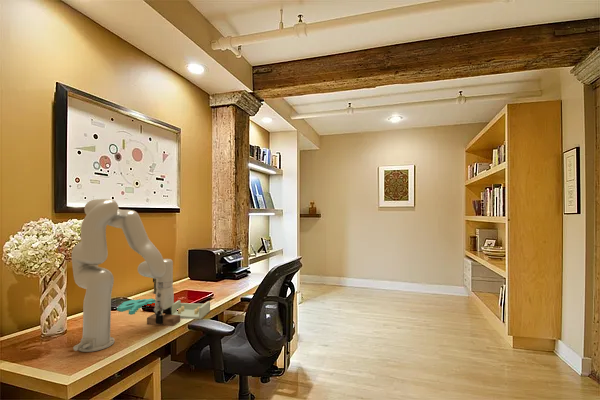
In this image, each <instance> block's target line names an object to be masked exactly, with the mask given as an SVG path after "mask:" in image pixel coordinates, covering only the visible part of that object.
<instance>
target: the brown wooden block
mask: <svg viewBox="0 0 600 400" xmlns="http://www.w3.org/2000/svg"><path fill="white" fill-rule="evenodd" d="M162 315H163V323H162V324H156V316H155V313H153V314H151V315H149V316H148V317H146V325H153V326H166V327H168V326H169V327H170V326H171V327H174V326H176V325H177V324H179V323H180V322H181V318H180V315H168V314H165V313H162Z"/></svg>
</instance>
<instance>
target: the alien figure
mask: <svg viewBox="0 0 600 400" xmlns="http://www.w3.org/2000/svg"><path fill="white" fill-rule="evenodd" d="M152 303H155V299H154V298H148V299H147V298H142V299H140V298H139V299H130V300H127V301H123V303H122V302H121V304H119V305H118V306H117V308H116V310H117V311H118V312H121V313H123V312H126V311H128V315H130V316H131V315H135V314H136V313H137V311H139V309H141V308H143V307H142V306H144V305H147V304H152Z"/></svg>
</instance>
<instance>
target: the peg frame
mask: <svg viewBox="0 0 600 400" xmlns="http://www.w3.org/2000/svg"><path fill="white" fill-rule="evenodd" d="M177 309H178V311H177ZM209 312H211V301H210V300H208V301H206V302H205V303H193V302H191V303H188V302H181V300H180V299H178V300H177V301H174V304H173V305H172V315H180V319H188V320H189V319H191V320H192V319H193V320H194V319H196V320H198V319H199V320H201V319H203V318H204V317H205V316H207V315H208V314H209Z"/></svg>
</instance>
